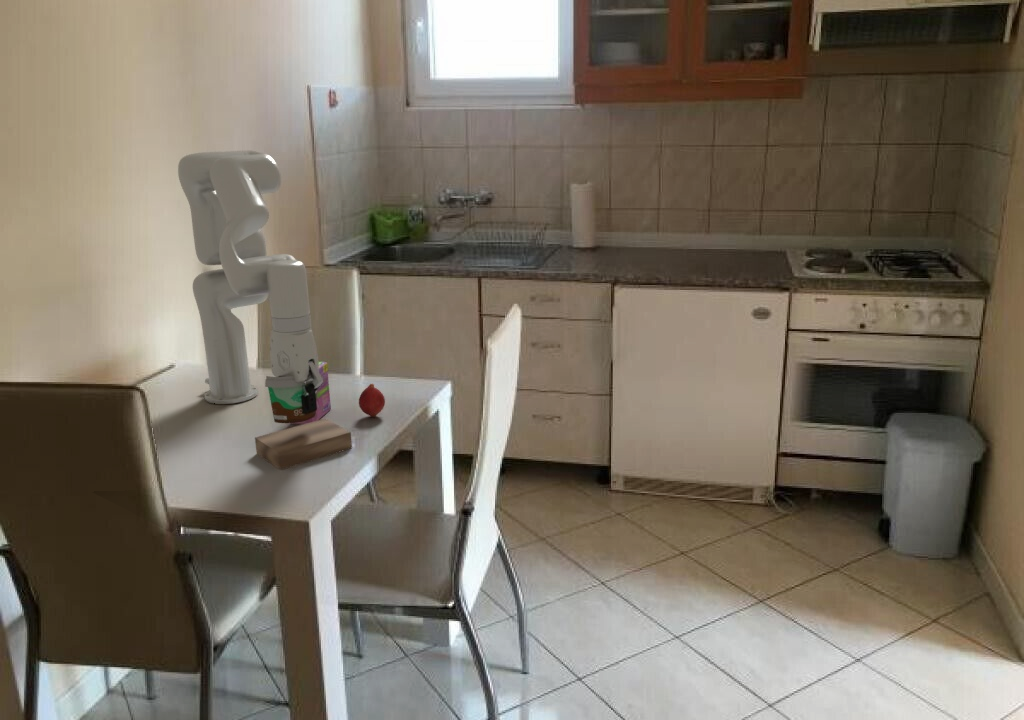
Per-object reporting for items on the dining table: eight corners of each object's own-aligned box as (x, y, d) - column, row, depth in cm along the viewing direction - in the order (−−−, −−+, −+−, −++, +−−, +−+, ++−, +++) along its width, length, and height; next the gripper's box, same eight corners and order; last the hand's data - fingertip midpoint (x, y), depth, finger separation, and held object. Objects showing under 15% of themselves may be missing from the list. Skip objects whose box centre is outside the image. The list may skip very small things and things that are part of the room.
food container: (290, 429, 166) (286, 381, 163) (268, 424, 169) (264, 376, 167) (334, 411, 176) (331, 365, 173) (313, 406, 179) (309, 361, 177)
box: (313, 425, 189) (308, 375, 186) (289, 424, 191) (284, 374, 187) (332, 409, 199) (327, 361, 196) (309, 408, 200) (304, 360, 197)
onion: (363, 423, 190) (360, 389, 188) (357, 414, 195) (354, 382, 193) (388, 418, 192) (386, 385, 190) (382, 411, 197) (379, 378, 195)
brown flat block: (257, 455, 175) (254, 437, 174) (326, 435, 185) (324, 418, 183) (280, 471, 167) (278, 453, 165) (352, 450, 176) (350, 432, 175)
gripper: (249, 321, 170) (259, 406, 175) (304, 333, 160) (313, 423, 165) (280, 314, 176) (289, 396, 181) (334, 325, 165) (342, 412, 171)
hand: (300, 408), depth 173 cm, fingers closed on food container, 5 cm apart
